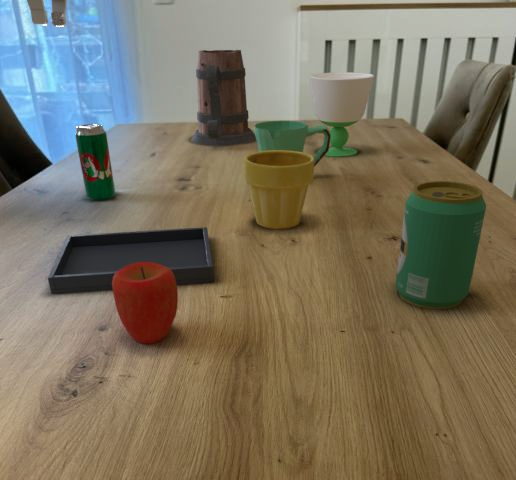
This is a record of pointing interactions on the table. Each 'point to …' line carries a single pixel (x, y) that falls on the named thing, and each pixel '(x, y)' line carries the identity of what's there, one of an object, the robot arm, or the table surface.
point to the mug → (289, 136)
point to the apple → (146, 300)
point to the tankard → (221, 99)
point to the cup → (340, 104)
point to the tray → (130, 257)
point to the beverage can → (439, 243)
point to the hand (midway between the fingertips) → (50, 25)
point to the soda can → (95, 162)
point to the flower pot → (278, 185)
